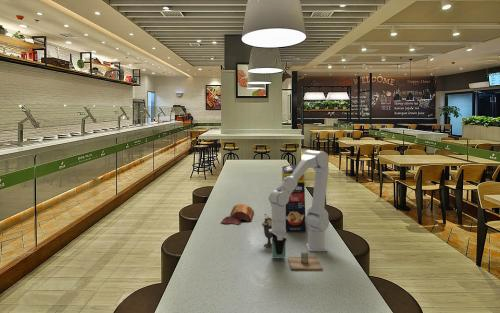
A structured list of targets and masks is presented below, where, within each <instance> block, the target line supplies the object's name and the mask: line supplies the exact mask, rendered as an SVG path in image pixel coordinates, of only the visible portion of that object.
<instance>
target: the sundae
mask: <svg viewBox="0 0 500 313" xmlns="http://www.w3.org/2000/svg"><path fill="white" fill-rule="evenodd" d="M264 216H265V218H264V221H263V222H262V224H261V226H262V227H263V232H264V236H265V238H266V239H267V243H265V244H263V247H265V248H270V249H271V248H272V237H273V236H272V234H271V232H269V229H272V217H271V218H270V217H269V216H268V215H267V214H266V213H264Z"/></svg>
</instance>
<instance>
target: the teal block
mask: <svg viewBox="0 0 500 313" xmlns="http://www.w3.org/2000/svg"><path fill="white" fill-rule="evenodd" d="M271 244H272V247H271V255H272V258H286V250H287V249H286V244H287V243H286V242H285V244H284V247H283V252H282V254H276V248H275V244H274V241H273V239H272V238H271Z"/></svg>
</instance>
